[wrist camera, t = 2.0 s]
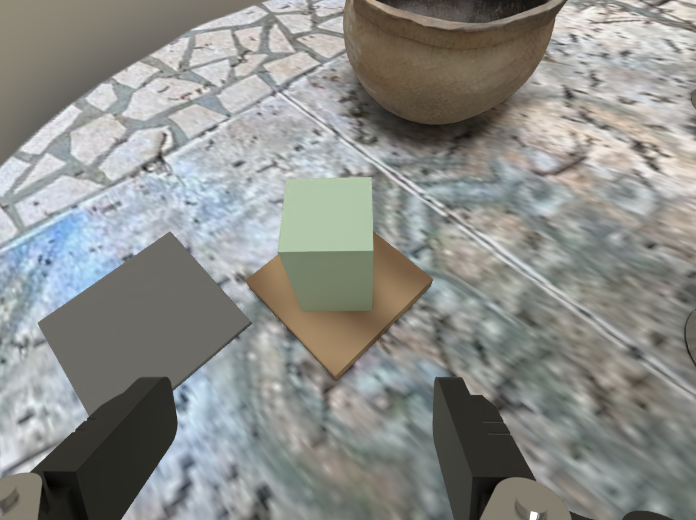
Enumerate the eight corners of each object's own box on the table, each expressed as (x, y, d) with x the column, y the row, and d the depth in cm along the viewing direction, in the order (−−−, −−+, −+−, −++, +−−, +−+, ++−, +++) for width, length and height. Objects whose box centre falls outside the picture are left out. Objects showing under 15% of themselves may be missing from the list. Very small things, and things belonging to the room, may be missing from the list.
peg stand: (341, 213, 39) (334, 153, 31) (430, 286, 34) (447, 235, 27) (249, 287, 35) (217, 239, 27) (336, 380, 30) (326, 351, 23)
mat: (171, 233, 38) (170, 231, 38) (251, 323, 33) (250, 321, 33) (40, 324, 34) (37, 323, 34) (108, 445, 29) (105, 445, 28)
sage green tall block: (307, 251, 35) (286, 179, 26) (370, 250, 34) (371, 177, 26) (302, 311, 32) (277, 251, 23) (372, 310, 31) (373, 250, 23)
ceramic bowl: (344, 52, 53) (336, -84, 40) (496, 41, 52) (538, -101, 39) (351, 166, 42) (344, 29, 29) (544, 153, 41) (625, 8, 28)
